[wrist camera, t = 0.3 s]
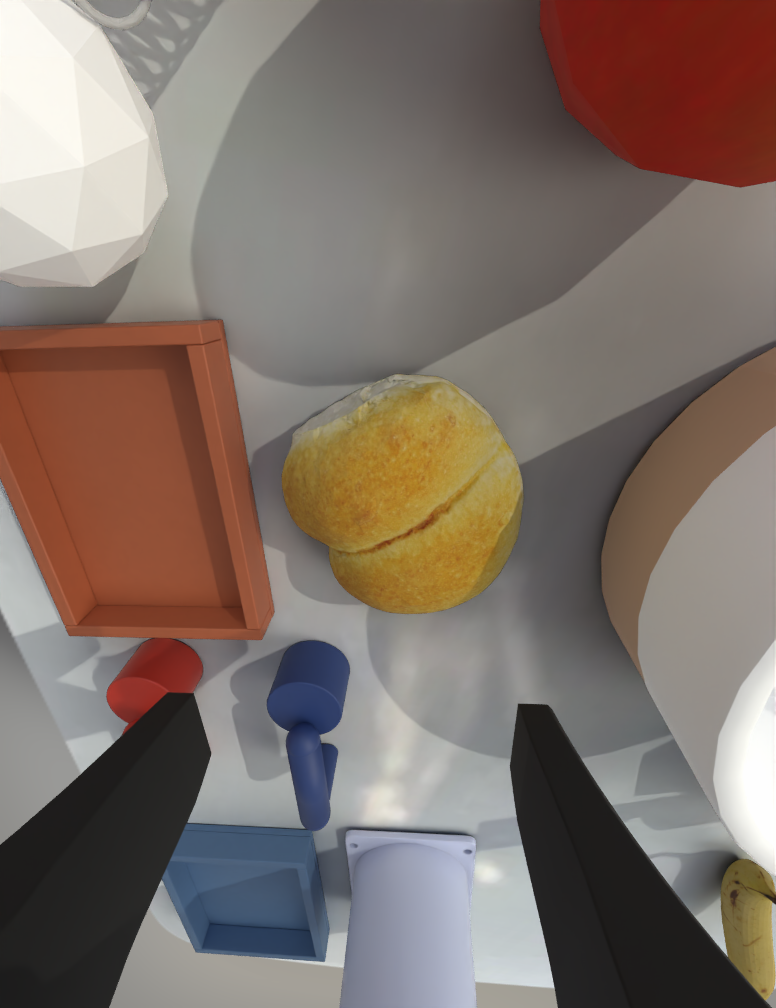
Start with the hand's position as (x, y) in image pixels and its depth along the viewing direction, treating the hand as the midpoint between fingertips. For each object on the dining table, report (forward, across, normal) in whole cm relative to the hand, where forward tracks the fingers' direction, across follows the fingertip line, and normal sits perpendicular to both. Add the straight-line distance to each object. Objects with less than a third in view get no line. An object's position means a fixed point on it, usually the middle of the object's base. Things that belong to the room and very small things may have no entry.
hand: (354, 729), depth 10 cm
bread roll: (+10, -1, -2) cm, 10 cm away
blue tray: (+10, +10, +28) cm, 32 cm away
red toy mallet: (+10, +11, +10) cm, 18 cm away
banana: (+10, -21, +25) cm, 34 cm away
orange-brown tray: (+10, +10, -2) cm, 14 cm away
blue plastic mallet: (+10, +4, +10) cm, 15 cm away
